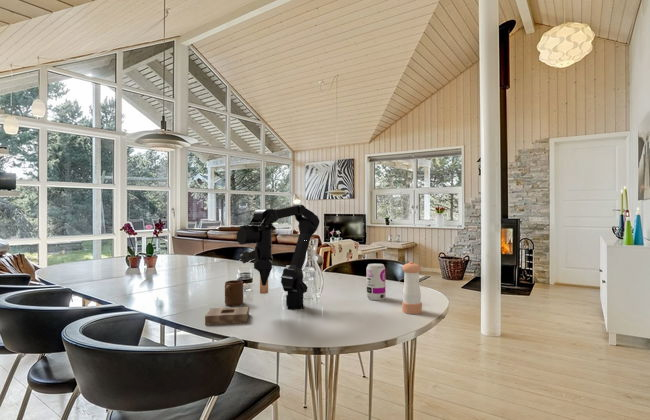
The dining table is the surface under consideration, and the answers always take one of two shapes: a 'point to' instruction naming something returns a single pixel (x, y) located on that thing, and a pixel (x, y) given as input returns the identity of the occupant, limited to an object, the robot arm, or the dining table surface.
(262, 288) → the peg
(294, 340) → the dining table surface
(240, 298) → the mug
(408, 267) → the pepper shaker
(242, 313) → the hole block
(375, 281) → the supplement can
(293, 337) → the dining table surface
